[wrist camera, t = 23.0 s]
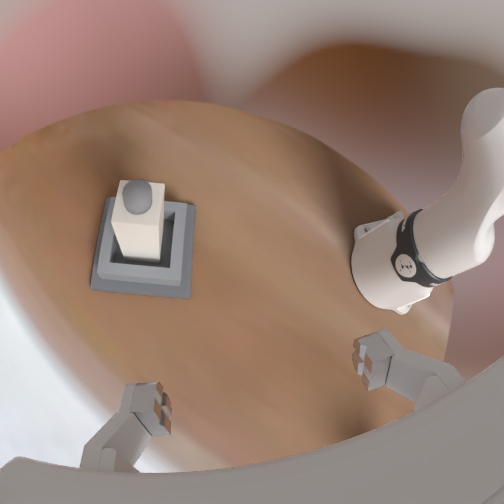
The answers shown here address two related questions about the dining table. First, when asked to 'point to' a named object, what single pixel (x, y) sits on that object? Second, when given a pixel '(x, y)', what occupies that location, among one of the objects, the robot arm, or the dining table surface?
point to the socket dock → (147, 273)
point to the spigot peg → (139, 219)
